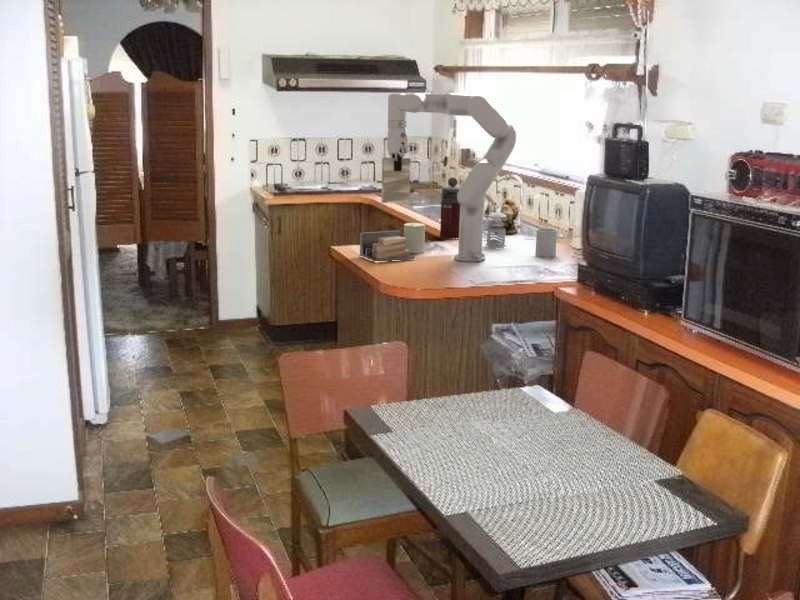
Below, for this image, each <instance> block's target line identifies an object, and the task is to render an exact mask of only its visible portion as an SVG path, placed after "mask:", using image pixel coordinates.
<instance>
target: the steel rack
mask: <svg viewBox="0 0 800 600" xmlns="http://www.w3.org/2000/svg"><path fill="white" fill-rule="evenodd" d="M401 235H402V231H401V230H400V229H399V230H397V229H396V230H384V231H383V230H382V231H370V232H366V231H365V232H359V257H360V256H363V257H366V258H368V259H371V260H373V261H392V260H407V259H415V257H416V256H415V255H413V254H412V255H411V254H410V256H408V257H396V258H383V259H378V258H375V257H373V256H372V250H373V244H378V241H379V238H385V237H394V236H400V237H402V236H401ZM405 249H406V246H405ZM415 260H416V259H415Z"/></svg>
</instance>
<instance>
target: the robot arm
mask: <svg viewBox="0 0 800 600" xmlns="http://www.w3.org/2000/svg"><path fill="white" fill-rule="evenodd" d="M387 98H388V99H387V129H388V130H387V137H386V138H387V139H386V141H387V142H386V148H387V149H386V150H387V152H388V155H389V156H390V158H395V161H394V171H401V170H402V158H405V156H406V154H407V153H408V151H409V149H408V147H409V144H408V143H409V141H408V140H409V139H408V132H407V131H408V130H407V116H408V114H407V112H408V113H413V114H416V113H417V114H418V113H435V114H437V113H438V114H442V115H446V116H464V117H465V116H467V117H471V118H473V120H474V121H475V122H476V123H477V124H478V125H479V126H480V127H481V128H482V129H483V130H484V131H485V132H486V133H487V134H488V135H489V136H490V137H492V138H493V141H492V143H491V144H490V147H489V148H488V150H487V152H485V154H484V156H483V157H482V159H481V160H480V161H478V162H477V163H476V164H475V165H474V166H473V167H472V169H471V170H470V172H469V174H468V175H467V176H466V178H465V179H464V182H463V183H462V184H461V186H460V187H461V188H460V189H459V191H458V194H457V199H458V202H459V204H460V205H461V208H460V223H459V239H458V252H457V253H458V254H455V255H454V260H456V261H459V260H460V262H468V263H469V262H470V263H472V262H473V263H477V261H479V262H483V261H485V260H486V256H485V254H484V253H483V232H484V230H483V227H484V223H483V221H484V210H485V200H486V193H487V192H488V190H489V188H491V185H492V184H493V182H495V181H496V179H497V177H498V175H499V173H500V172H501V171H502V168H503V167H504V166H505V164H506V162H507V160H508V159H509V157H510V155H511V154H512V152H513V150H514V148H515V145H516V141H517V133H516V132H517V131H516V127H515V125H514V124H513V121H512V120H511V119H510V118H509V117H507V115H503V114H501V113H500V112H499V111H497V110H496V109H495V108H494V106H493V105H492V104H491V100H490V99H489V97H488V96H486V95H485V94H477V93H475V94H474V93H454V92H453V93H452V92H451V93H420V92H419V93H410V94H409V93H407V94H406V93H390V94H389V95H388V97H387Z"/></svg>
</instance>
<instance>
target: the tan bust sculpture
mask: <svg viewBox="0 0 800 600" xmlns="http://www.w3.org/2000/svg"><path fill="white" fill-rule="evenodd" d="M501 205H502V206H501V207H500V211H499V213H503V214H505V215H506V218H499V220H500V221H501V224H504V225H505V226H504V227H502V228H505V236H514V235H517V234H518V232H519V231H518V229H517V228H516V225H515V220H516V219H517V218H518V216H519V206H518V205H517V202H516V200H515V199H514V198H512V197H506V198H505V200H504V201H503V202H502V204H501ZM493 230H495V229H493ZM493 233H495V232H493ZM495 234H497V233H495Z"/></svg>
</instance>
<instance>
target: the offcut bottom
mask: <svg viewBox="0 0 800 600" xmlns="http://www.w3.org/2000/svg"><path fill="white" fill-rule="evenodd" d="M410 255H411V253H410V250H407V249H405V251H392V252H376V251H374V250H372V256H373V257H375V258H378V259H383V258H396V257H408V256H410Z"/></svg>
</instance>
